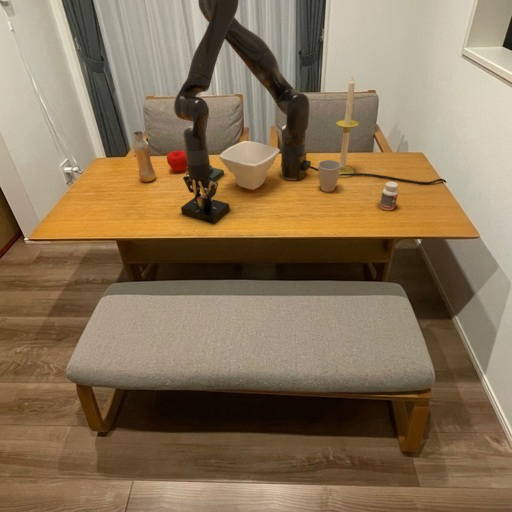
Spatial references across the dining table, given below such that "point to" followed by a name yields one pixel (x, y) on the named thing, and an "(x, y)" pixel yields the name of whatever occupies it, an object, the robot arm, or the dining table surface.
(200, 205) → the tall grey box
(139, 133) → the plastic bottle
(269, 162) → the bowl
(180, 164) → the apple
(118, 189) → the dining table surface
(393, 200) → the pill bottle
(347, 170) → the candle
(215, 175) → the dark grey base plate
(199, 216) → the panel
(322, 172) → the cup
